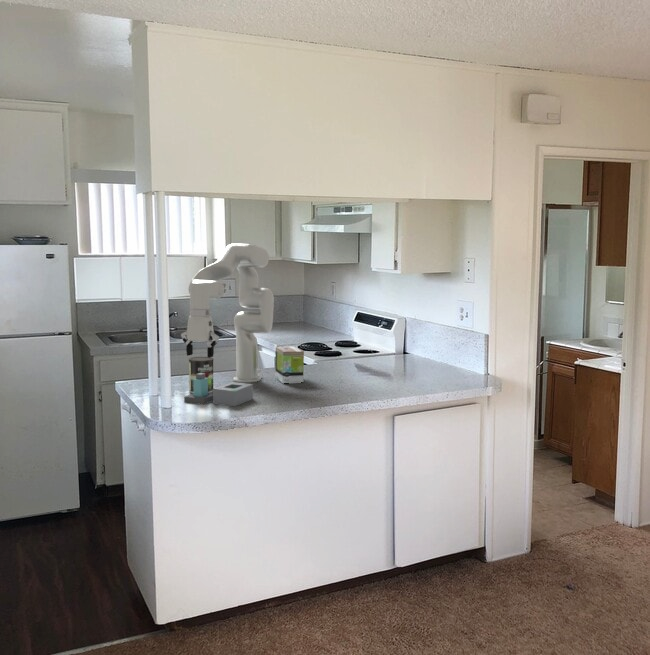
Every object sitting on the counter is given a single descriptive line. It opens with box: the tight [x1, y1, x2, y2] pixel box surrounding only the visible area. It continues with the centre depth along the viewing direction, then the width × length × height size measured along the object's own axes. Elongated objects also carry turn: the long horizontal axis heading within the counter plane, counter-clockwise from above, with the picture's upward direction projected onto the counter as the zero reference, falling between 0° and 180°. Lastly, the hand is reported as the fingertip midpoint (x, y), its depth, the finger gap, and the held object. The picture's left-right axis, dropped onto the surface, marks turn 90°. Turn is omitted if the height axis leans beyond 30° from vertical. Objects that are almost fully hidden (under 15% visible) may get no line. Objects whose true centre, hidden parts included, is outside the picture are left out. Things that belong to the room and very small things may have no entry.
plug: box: [193, 373, 208, 397], centre depth 284 cm, size 5×4×11 cm
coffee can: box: [188, 356, 214, 394], centre depth 300 cm, size 10×10×14 cm
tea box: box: [274, 346, 305, 384], centre depth 324 cm, size 15×10×15 cm, turn 18°
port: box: [212, 381, 254, 407], centre depth 284 cm, size 14×10×6 cm
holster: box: [183, 392, 213, 405], centre depth 284 cm, size 10×9×2 cm
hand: (200, 356), depth 282 cm, fingers open, 9 cm apart
